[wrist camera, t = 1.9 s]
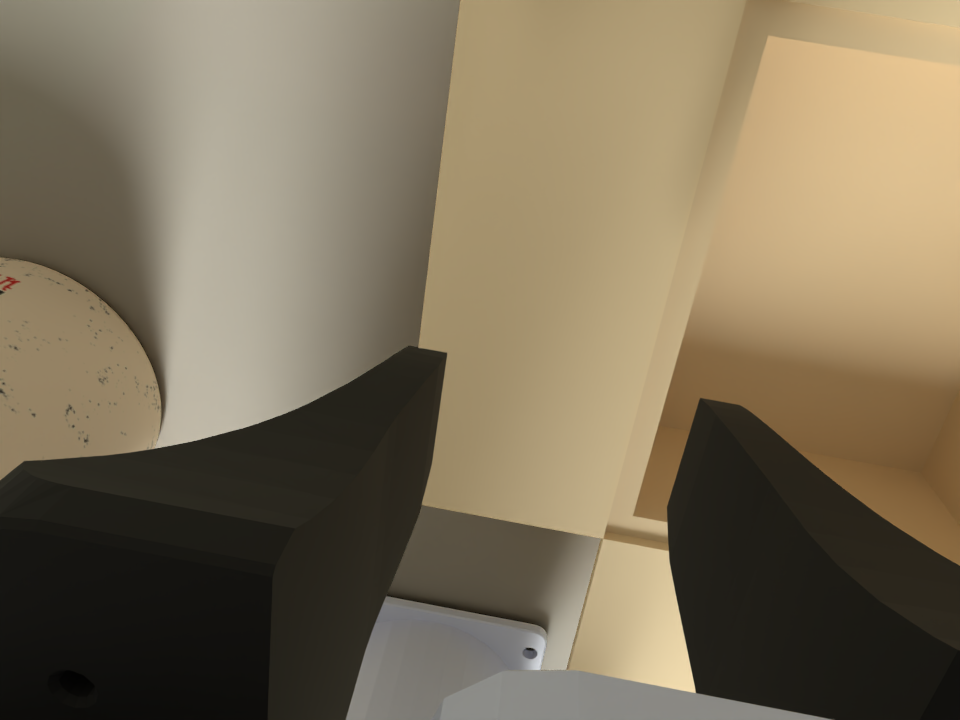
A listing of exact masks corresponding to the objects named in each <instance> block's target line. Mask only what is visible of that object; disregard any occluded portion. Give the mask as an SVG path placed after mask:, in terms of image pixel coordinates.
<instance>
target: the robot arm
mask: <svg viewBox="0 0 960 720" xmlns="http://www.w3.org/2000/svg"><path fill="white" fill-rule="evenodd" d="M446 359H447V353H446V352H441V351H435V350H429V349H424V348H418V347H413V346H408V347H406V348H404V349H403V350H401V351H399V352H398V353H396V354H395V355H393V356H392V357H390V358H388V359H387V360H385V361H384V362H382V363H381V364H379V365H378V366H376V367H374V368H373V369H371V370H370V371H368V372H366V373H365V374H363V375H361V376H360V377H358V378H356V379H355V380H353V381H351V382H350V383H348V384H346V385H344V386H342V387H340V388H338V389H336V390H334V391H332V392H330V393H328V394H326V395H324V396H323V397H321V398H319V399H317V400H315V401H313V402H311V403H309V404H307V405H305V406H302V407H300V408H298V409H295V410H293V411H291V412H288V413H286V414H283V415H281V416H278V417H275V418H272V419H270V420H267V421H264V422H261V423H259V424H256V425H253V426H249V427H246V428H243V429H239V430H235V431H231V432H227V433H224V434H220V435H216V436H212V437H209V438H205V439H201V440H197V441H193V442H188V443H183V444H178V445H173V446H167V447H162V448H156V449H150V450H143V451H136V452H130V453H122V454H113V455H104V456H91V457H77V458H64V459H51V460H33V461H24V462H22V463H21V464H20V465H18V466H17V467H16V468H15V469H13V470H12V471H11V472H10V473H8V474H7V475H6V476H5V477H4V478H2V479H1V480H0V720H960V566H959V565H958V564H956V563H954V562H952V561H951V560H949V559H947V558H946V557H944V556H942V555H940V554H939V553H937V552H935V551H934V550H932V549H931V548H929V547H927V546H926V545H924V544H923V543H921V542H920V541H918V540H916V539H915V538H913V537H912V536H910V535H909V534H907V533H905V532H904V531H902V530H901V529H899V528H898V527H896V526H894V525H893V524H892V523H890V522H889V521H887V520H886V519H884V518H883V517H881V516H880V515H879V514H877V513H876V512H874V511H873V510H872V509H870V508H869V507H868V506H866V505H865V504H864V503H862V502H861V501H860V500H858V499H857V498H856V497H854V496H853V495H852V494H850V493H849V492H848V491H846V490H845V489H844V488H842V487H841V486H840V485H838V484H837V483H836V482H835V481H833V480H832V479H831V478H830V477H828V476H827V475H826V474H825V473H823V472H822V471H821V470H820V469H819V468H817V467H816V466H815V465H814V464H813V463H811V462H810V461H809V460H808V459H807V458H805V457H804V456H803V455H802V454H801V453H799V452H798V451H797V450H796V449H795V448H794V447H792V446H791V445H790V444H789V443H788V442H787V441H785V440H784V439H783V438H782V437H781V436H780V435H778V434H777V433H776V432H775V431H774V430H773V429H771V428H770V427H769V426H768V425H767V424H765V423H764V422H763V421H762V420H760V419H759V418H758V417H757V416H755V415H754V414H753V413H752V412H750V411H749V410H747V409H746V408H744V407H743V406H741V405H737V404H732V403H726V402H721V401H715V400H709V399H704V398H700V399H699V403H698V406H697V409H696V413H695V416H694V419H693V423H692V426H691V429H690V432H689V436H688V439H687V442H686V446H685V449H684V452H683V456H682V459H681V462H680V465H679V469H678V472H677V475H676V479H675V482H674V485H673V488H672V492H671V495H670V498H669V502H668V505H667V525H668V546H669V562H670V567H671V572H672V578H673V583H674V588H675V593H676V598H677V603H678V608H679V613H680V618H681V622H682V627H683V632H684V637H685V642H686V647H687V651H688V656H689V661H690V666H691V671H692V676H693V680H694V685H695V691H696V693H693V692H687V691H682V690H677V689H672V688H667V687H661V686H656V685H651V684H646V683H641V682H636V681H630V680H625V679H620V678H615V677H610V676H604V675H599V674H594V673H589V672H584V671H579V670H541V666H542V661H543V657H544V653H545V649H546V645H547V633H546V631H545V630H544V629H543V628H542V627H540V626H538V625H534V624H529V623H524V622H519V621H513V620H508V619H503V618H498V617H493V616H487V615H482V614H477V613H472V612H466V611H461V610H456V609H451V608H445V607H440V606H435V605H430V604H425V603H419V602H414V601H409V600H404V599H398V598H393V597H388V596H386V595H387V593H388V590H389V588H390V585H391V583H392V581H393V578H394V576H395V573H396V571H397V568H398V566H399V563H400V561H401V558H402V556H403V553H404V551H405V548H406V546H407V543H408V541H409V538H410V536H411V533H412V531H413V528H414V526H415V523H416V521H417V518H418V516H419V512H420V509H421V505H422V501H423V497H424V493H425V489H426V486H427V482H428V478H429V474H430V470H431V466H432V460H433V453H434V446H435V438H436V431H437V424H438V417H439V410H440V403H441V395H442V388H443V381H444V374H445V367H446ZM526 648H533V649H535V650H527V649H526Z"/></svg>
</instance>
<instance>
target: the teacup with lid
mask: <svg viewBox="0 0 960 720" xmlns="http://www.w3.org/2000/svg"><path fill="white" fill-rule="evenodd" d="M160 424H161V400H160V392H159V388H158V383H157V380H156V377H155V374H154V371H153V368H152V366H151V363H150V361H149V359H148V357H147V355H146V353H145V351H144V349H143V347H142V346H141V344H140V343H139V341H138V340H137V338H136V336H135V335H134V334H133V332H132V331H131V330H130V328H129V327H128V326H127V324H126V323H125V322H124V321H123V320H122V319H121V318H120V317H119V315H118V314H117V313H116V312H115V311H114V310H113V309H112V308H111V307H109V306H108V305H107V304H106V303H105V302H104V301H103V300H102V299H100V298H99V297H98V296H97V295H95V294H94V293H93V292H91V291H90V290H88V289H87V288H86V287H84V286H83V285H81V284H79V283H78V282H76V281H74V280H73V279H71V278H69V277H67V276H65V275H63V274H61V273H59V272H57V271H55V270H52V269H49V268H47V267H44V266H41V265H38V264H35V263H31V262H27V261H23V260H18V259H10V258H1V257H0V480H1V479H2V478H4V477H5V476H6V475H7V474H8V473H10V472H11V471H12V470H13V469H15V468H16V467H17V466H18V465H20V464H21V463H22V462H24V461H33V460H51V459H64V458H77V457H91V456H104V455H113V454H122V453H130V452H136V451H143V450H150V449H154V448H155V445H156V442H157V440H158V435H159V431H160Z"/></svg>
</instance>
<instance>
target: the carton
mask: <svg viewBox="0 0 960 720" xmlns="http://www.w3.org/2000/svg"><path fill="white" fill-rule="evenodd" d="M418 348H424V349H429V350H435V351H441V352H446V353H447V359H446V367H445V374H444V381H443V388H442V395H441V403H440V410H439V417H438V424H437V431H436V438H435V446H434V453H433V460H432V466H431V470H430V474H429V478H428V482H427V486H426V489H425V493H424V497H423V501H422V505H424V506H429V507H434V508H440V509H445V510H451V511H456V512H461V513H467V514H472V515H477V516H483V517H488V518H493V519H499V520H504V521H510V522H515V523H520V524H526V525H531V526H536V527H542V528H547V529H553V530H558V531H563V532H569V533H574V534H579V535H585V536H590V537H595V538H601V540H600V544H599V548H598V551H597V555H596V559H595V563H594V567H593V570H592V574H591V578H590V582H589V586H588V589H587V593H586V597H585V601H584V604H583V608H582V612H581V616H580V620H579V623H578V627H577V631H576V635H575V639H574V642H573V646H572V650H571V654H570V657H569V661H568V665H567V669H566V670H579V671H584V672H589V673H594V674H599V675H604V676H610V677H615V678H620V679H625V680H630V681H636V682H641V683H646V684H651V685H656V686H661V687H667V688H672V689H677V690H682V691H687V692H693V693H696V691H695V685H694V680H693V676H692V671H691V666H690V661H689V656H688V651H687V647H686V642H685V637H684V632H683V627H682V622H681V618H680V613H679V608H678V603H677V598H676V593H675V588H674V583H673V578H672V572H671V567H670V562H669V546H668V525H667V505H668V502H669V498H670V495H671V492H672V488H673V485H674V482H675V479H676V475H677V472H678V469H679V465H680V462H681V459H682V456H683V452H684V449H685V446H686V442H687V439H688V436H689V432H690V429H691V426H692V423H693V419H694V416H695V413H696V409H697V406H698V403H699V399H700V398H704V399H709V400H715V401H721V402H726V403H732V404H737V405H741V406H743V407H744V408H746V409H747V410H749V411H750V412H752V413H753V414H754V415H755V416H757V417H758V418H759V419H760V420H762V421H763V422H764V423H765V424H767V425H768V426H769V427H770V428H771V429H773V430H774V431H775V432H776V433H777V434H778V435H780V436H781V437H782V438H783V439H784V440H785V441H787V442H788V443H789V444H790V445H791V446H792V447H794V448H795V449H796V450H797V451H798V452H799V453H801V454H802V455H803V456H804V457H805V458H807V459H808V460H809V461H810V462H811V463H813V464H814V465H815V466H816V467H817V468H819V469H820V470H821V471H822V472H823V473H825V474H826V475H827V476H828V477H830V478H831V479H832V480H833V481H835V482H836V483H837V484H838V485H840V486H841V487H842V488H844V489H845V490H846V491H848V492H849V493H850V494H852V495H853V496H854V497H856V498H857V499H858V500H860V501H861V502H862V503H864V504H865V505H866V506H868V507H869V508H870V509H872V510H873V511H874V512H876V513H877V514H879V515H880V516H881V517H883V518H884V519H886V520H887V521H889V522H890V523H892V524H893V525H894V526H896V527H898V528H899V529H901V530H902V531H904V532H905V533H907V534H909V535H910V536H912V537H913V538H915V539H916V540H918V541H920V542H921V543H923V544H924V545H926V546H927V547H929V548H931V549H932V550H934V551H935V552H937V553H939V554H940V555H942V556H944V557H946V558H947V559H949V560H951V561H952V562H954V563H956V564H958V565H959V566H960V0H460V6H459V14H458V22H457V30H456V39H455V47H454V55H453V64H452V72H451V80H450V88H449V97H448V105H447V113H446V122H445V130H444V138H443V146H442V155H441V163H440V171H439V179H438V188H437V196H436V204H435V213H434V221H433V229H432V237H431V246H430V254H429V262H428V271H427V279H426V287H425V295H424V304H423V312H422V320H421V329H420V337H419V345H418Z"/></svg>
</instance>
